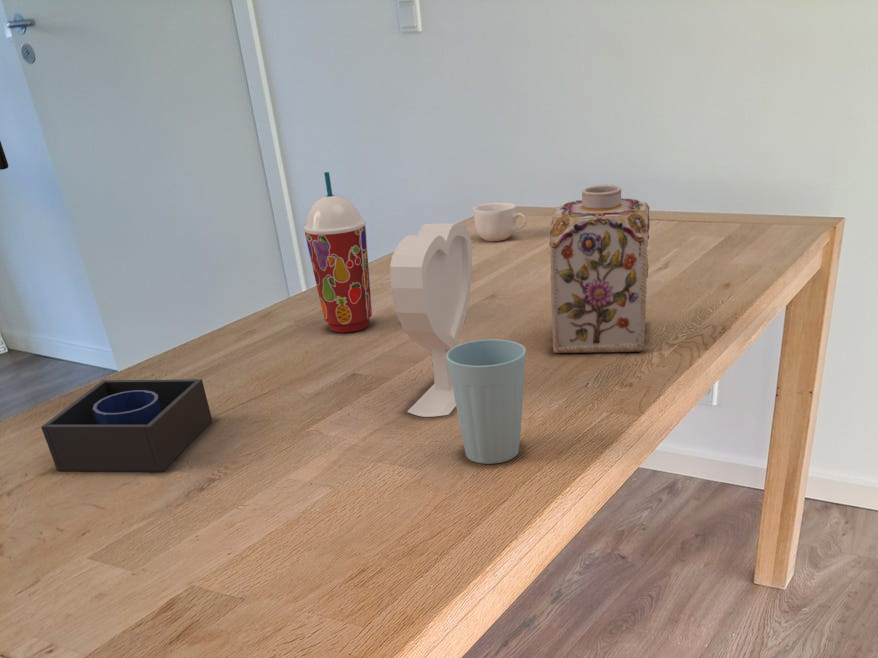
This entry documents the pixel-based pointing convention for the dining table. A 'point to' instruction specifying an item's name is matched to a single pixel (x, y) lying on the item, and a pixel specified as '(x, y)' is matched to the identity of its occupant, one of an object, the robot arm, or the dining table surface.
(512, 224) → the teacup
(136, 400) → the cylindrical container
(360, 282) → the smoothie
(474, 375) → the cup
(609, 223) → the decorative jar
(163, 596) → the dining table surface
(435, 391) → the heart sculpture
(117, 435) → the dish tub
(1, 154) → the robot arm
